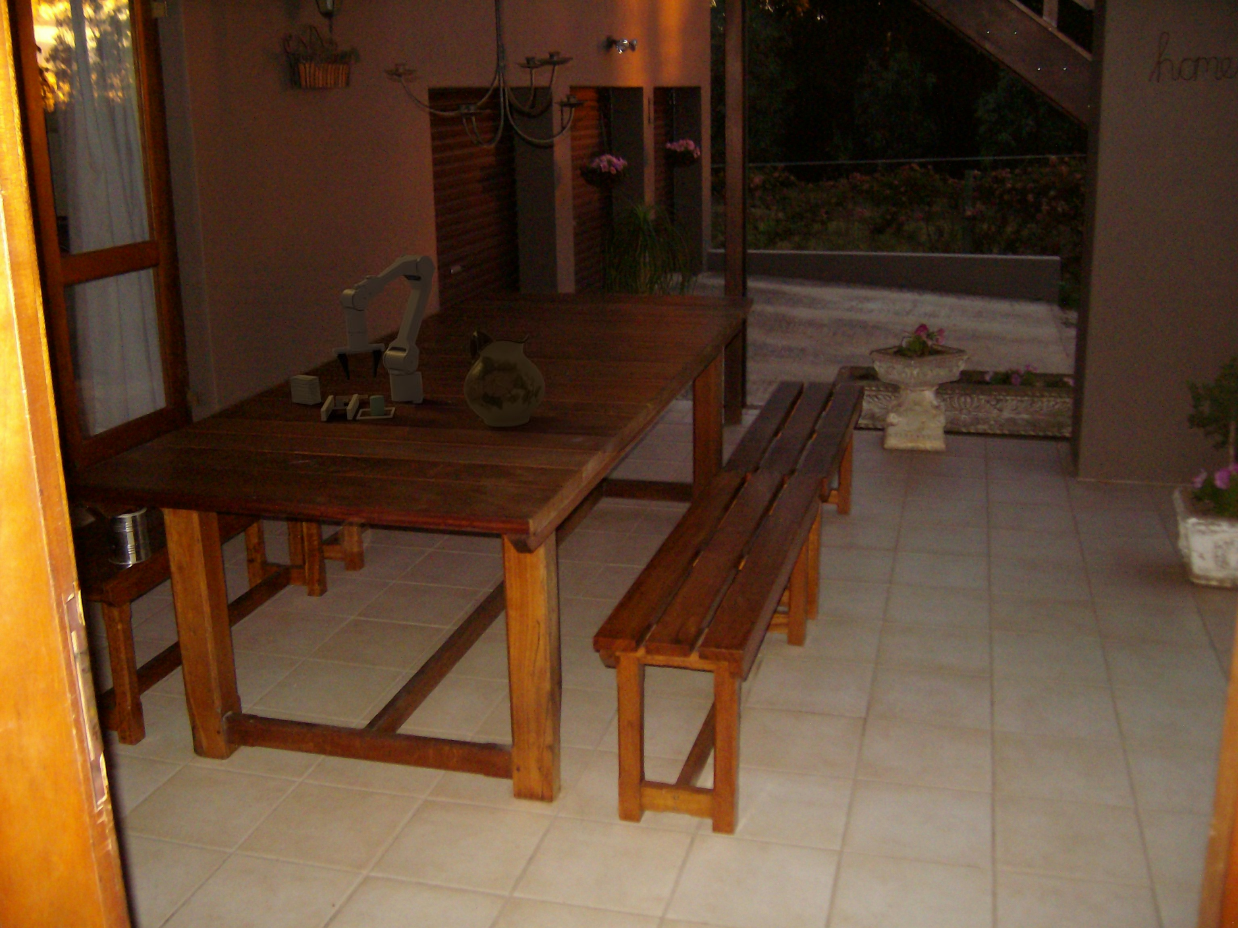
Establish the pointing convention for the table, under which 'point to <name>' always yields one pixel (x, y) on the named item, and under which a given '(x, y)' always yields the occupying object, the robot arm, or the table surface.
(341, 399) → the lever
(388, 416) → the tray
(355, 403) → the beige h-shaped piece
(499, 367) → the pitcher
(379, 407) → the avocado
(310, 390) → the medicine box
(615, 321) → the table surface
